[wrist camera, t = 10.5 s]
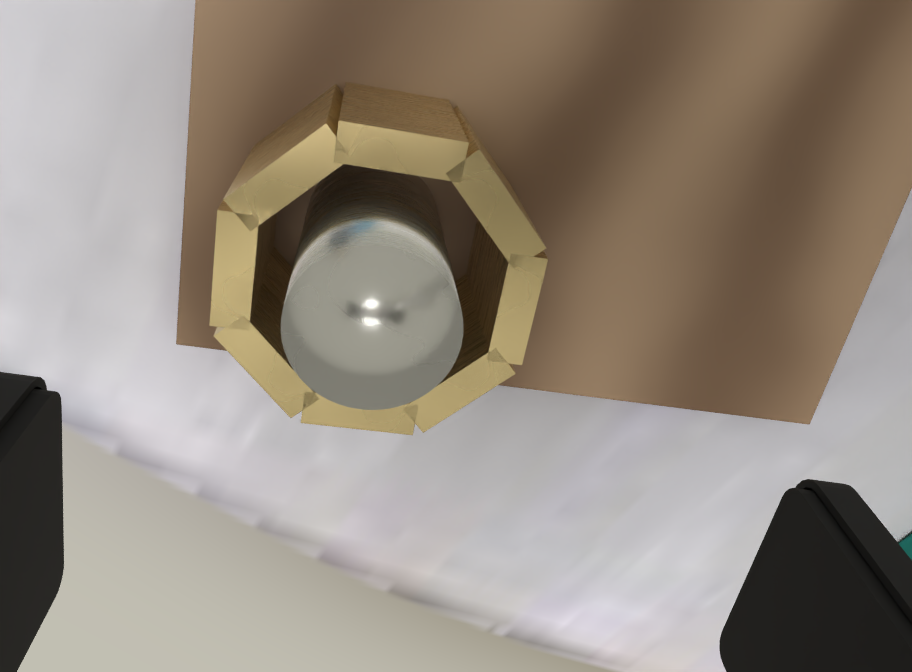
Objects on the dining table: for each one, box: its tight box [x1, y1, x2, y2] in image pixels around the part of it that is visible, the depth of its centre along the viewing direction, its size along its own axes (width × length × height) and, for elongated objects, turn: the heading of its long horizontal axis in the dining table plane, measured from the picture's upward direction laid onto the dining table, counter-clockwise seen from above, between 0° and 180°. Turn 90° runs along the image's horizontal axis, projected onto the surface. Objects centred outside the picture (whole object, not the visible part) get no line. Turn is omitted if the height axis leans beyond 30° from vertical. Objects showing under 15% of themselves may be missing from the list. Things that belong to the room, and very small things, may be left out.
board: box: [176, 0, 912, 424], centre depth 23 cm, size 20×13×1 cm, turn 79°
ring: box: [209, 82, 548, 435], centre depth 20 cm, size 7×7×5 cm
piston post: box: [281, 164, 463, 410], centre depth 19 cm, size 4×4×7 cm
